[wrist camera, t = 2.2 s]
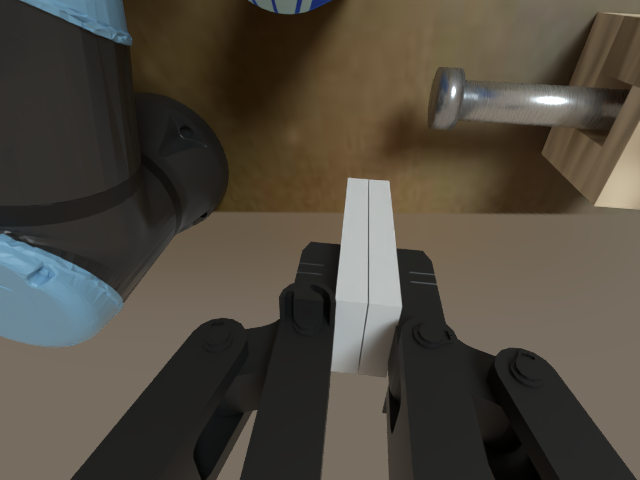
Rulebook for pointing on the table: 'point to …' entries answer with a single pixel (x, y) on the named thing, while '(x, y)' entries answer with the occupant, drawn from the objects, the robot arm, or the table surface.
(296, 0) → the beer can
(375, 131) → the table surface
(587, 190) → the block
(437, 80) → the pin
